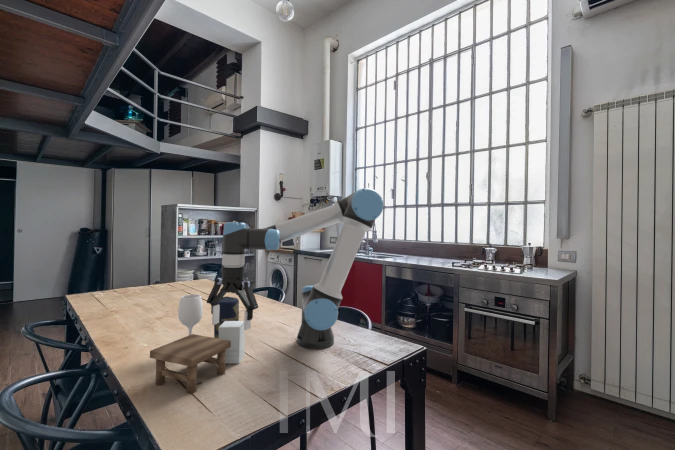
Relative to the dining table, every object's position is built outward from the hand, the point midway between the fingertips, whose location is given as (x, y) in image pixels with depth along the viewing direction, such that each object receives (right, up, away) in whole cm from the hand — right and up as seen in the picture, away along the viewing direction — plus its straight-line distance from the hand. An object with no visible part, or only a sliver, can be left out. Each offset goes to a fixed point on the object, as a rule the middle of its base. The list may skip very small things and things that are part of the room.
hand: (231, 326), depth 113 cm
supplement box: (0, -12, 0) cm, 12 cm away
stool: (-7, -11, -14) cm, 20 cm away
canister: (-8, -12, +18) cm, 23 cm away
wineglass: (-16, -12, +4) cm, 20 cm away
